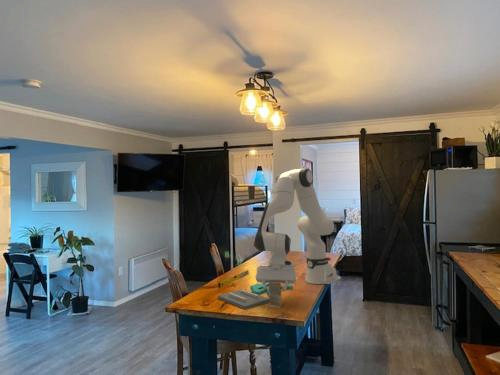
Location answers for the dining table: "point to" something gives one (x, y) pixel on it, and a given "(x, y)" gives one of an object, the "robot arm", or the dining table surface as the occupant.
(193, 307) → the dining table surface
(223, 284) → the spirit level
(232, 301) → the plate
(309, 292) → the dining table surface
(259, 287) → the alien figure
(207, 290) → the dining table surface
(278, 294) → the grey brown upright block
